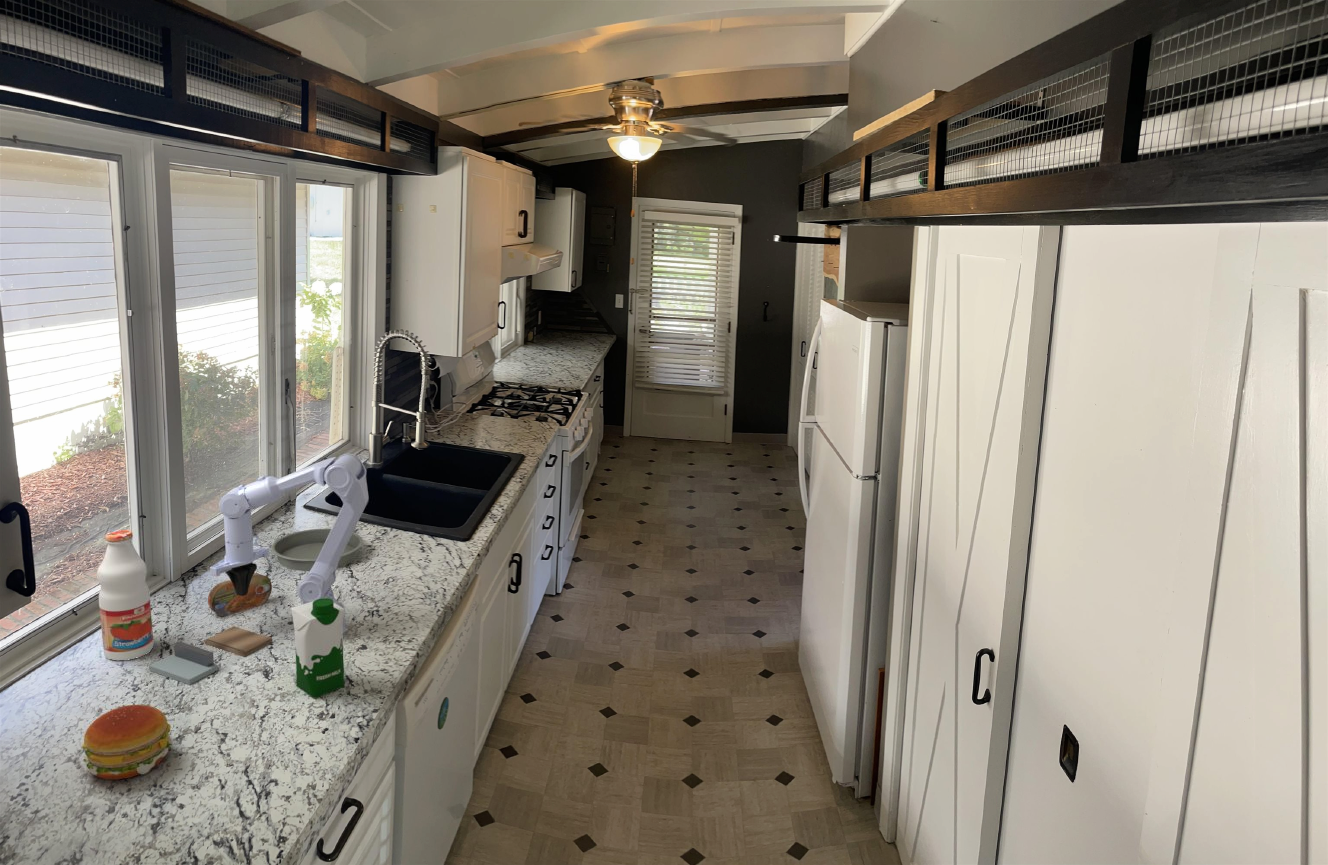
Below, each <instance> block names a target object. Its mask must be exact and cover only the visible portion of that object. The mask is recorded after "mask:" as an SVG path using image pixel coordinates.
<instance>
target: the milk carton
mask: <svg viewBox="0 0 1328 865" xmlns="http://www.w3.org/2000/svg"><path fill="white" fill-rule="evenodd" d="M290 609H291V615H292V620H293V628H294V632H295V635H294V641H295V642H294V648H295V667H296V668H295V670H296V673H295V674H296V675H295V676H296V677H295V678H296V679H295V680H296V683H295V684H296V687H298V689H300V690H301V691H303V692H304V693H305V694H307V695H308V696H310V697H311V698H312V699H316V698H319V697H321V696H325V695H326V694H330V693H331V692H333V691H334V692H335V691H336V690H339V689H341V688H344V687H345V670H344V669H345V668H344V667H345V666H344V640H343V638H344V637H343V636H344V633H343V617H344V609H343V608H342V607H340V606H339V605H337V604H335V603H334V602H333V600H332V599H329V598H322V599H317V600H315V601H313V602H309V603H306V604H303V605H301V604H300V605H296V606H293V607H291V608H290Z"/></svg>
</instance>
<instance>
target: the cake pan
mask: <svg viewBox="0 0 1328 865" xmlns="http://www.w3.org/2000/svg"><path fill="white" fill-rule="evenodd" d="M331 529H332V528H313V529H305V530H301V531H295V532H293V533H289V534H286V535H283V536H281V537H279V538H278V539H277V540H275V541H274V542H273V543H272V544H271V552H272V553H273V554H274V555H275V556H277V560H278V561H277V562H279V564H280V566H282V567H284V568H286V569H289V570H293V571H300V572H309V571H310V569H311V568H312V567H313V565H314V564H315V562H316V560H317V558H318V556H319V554H320V552H321V550H322V548H323V546H324V544H325V541H326V539H327V537H328V535H329V533H330V531H331ZM363 544H364V539H363V537H362V536H360V534H358V533H355V532H353V533H352V535H351V537H350V539H349V541H348V543H347V546H346V548H345V550H344V552H343V554H342V556H341V558H340V560H339V562H338V566H337V568H341V567H343V566H346V565H349V564H351V563H352V562H353V561H355V559H356V558H357V557H358V553H359V550H360V548H361V547H362V546H363ZM337 568H336V569H337Z"/></svg>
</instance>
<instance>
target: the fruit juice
mask: <svg viewBox="0 0 1328 865" xmlns="http://www.w3.org/2000/svg"><path fill="white" fill-rule="evenodd" d="M133 538H134V537H133V532H132V530H129V529H116V530H112V531H111V530H110V531H109V532H107V533H106V534H105V538H104V539H105V543H106V544H107V546H106V550H105V552H104V553H105V554H104V557H103V559H102V561H101V563H100V564H99V566H98V568H97V571H96V578H97V580H98V584H99V585H100V590H99V592H98V606H99V607H98V608H99V617H100V618H99V619H100V627H101V636H102V637H101V638H102V646H103V648H102V650H103V654H104V656H106V657H107V658H109V659H113V660H128V659H133V658H136V657H140V656H142V655H145V654H146V653H148V652H149V651H151V649H152V648H154V632H153V621H152V620H153V619H152V608H151V607H152V606H151V595H150V589H149V586H148V584H147V582H146V577H147V574H148V573H147V572H148V569H147V564H146V562H145V561H144V560H143V558H142V557H141V556H140V555H139V553H138V552H137V550H136V548H135V546H134V544H133V542H132V540H133ZM152 650H153V649H152ZM148 654H149V653H148ZM145 656H146V655H145ZM106 657H105V658H106ZM107 658H106V659H107ZM140 658H141V657H140ZM109 659H108V660H109Z"/></svg>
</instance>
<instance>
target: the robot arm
mask: <svg viewBox="0 0 1328 865" xmlns="http://www.w3.org/2000/svg"><path fill="white" fill-rule="evenodd" d="M335 459H336V460H335ZM311 483H316V484H317V485H320V486H322V487H325V485H327V486H328V487H329V489H330V490H332V491H333V492H334V493H335V494H336V495H337V496H338V497H339V498H340V499H341V501H342V506H341V508H340V511H339V512H338V514H337V517H336V519H335V521H334V523H333V526H332V527H331V528H330V529H331V531H330V533H329V535H328V537H327V539H326V541H325V544H324V546H323V548H322V550H321V552H320V554H319V556H318V558H317V560H316V562H315V564H314V565H313V567H312V568H311V569H310V571H308V573H307V574H306V576H305V577H303V580H302V581H300V583H299V584H298V585H297V588H296V594H297V596H298V598H299V599H300V605H303V604H306V603H309V602H313V601H315V600H317V599H322V598H329V599H332V600H333V602H334V603H335V604H337V605H339V606H340V607H342V608H343V609H344V617H343V634H344V633H347V632H348V628H347V627H346V614H345V612H346V609H345V606H344V604H343V603H341V602H340V601H339V600H337V599H336V598H335V595H334V591H333V588H332V586H333V585H334V583H335V582H336V571H337V566H338V562H339V560H340V558H341V556H342V554H343V552H344V550H345V548H346V546H347V543H348V541H349V539H350V537H351V535H352V533H354V531H355V529H356V527H357V525H358V523H359V521H360V518H361V517H362V515H363V513H364V510H365V508H366V506H367V505H368V503H369V498H370V497H369V491H368V483H367V468H366V467H365V465H364V464H363V462H362V460H361V458H359V457H358V456H357V455H355V454H353V453H344V454H341V455H340V456H339V457H337V456H334V457H330V458H327V459H324V460H321V461H318V462H316V463H313V464H310V465H309V466H305V467H304V468H302V469H299V470H296V471H294V472H292V473H290V474H287V475H285V476H283V477H280V478H278V477H275V476H272V475H269V476H267V477H266V475H262V476H261V475H260V476H259V477H258V478H257V480H256V481H253V482H250V483H248V484H246V485H245V484H244V483H243V484H240V485H239V486H237V487H234V488H232V489H231V490H230V491H228V492H227V493H225V494H224V495H223V496H222V497H220V499H219V501H218V509H219V512H220V513H221V514H222V515H223V528H224V543H225V555H224V558H223V559H221V560H219V561H218V562H216V563H215V564H214V565H212V566H210V567H209V573H210V576H213V577H216V578H217V577H220V576H221V574H226V575H227V576H228V578H229V580H231V581H232V583H233V586H234V588H235V591H236V594H237V595H240V596H245V595H247V593H248V589H249V585H250V581H251V579H252V576H253V574H254V573H256V570H257V569H258V564H257V563H254V562H255V561H256V560H258V559H260V558H267V557H269V555H270V554H269V548H267V547H263V546H261V547H259V548H255V549H254V539H253V538H254V537H253V520H252V510H256V509H258V508H260V507H264V506H266V505H269V504H271V503H273V502H274V503H275V502H276V501H279V500H281V499H282V498H283V495H284V493H285V492H288V491H290V490H291V491H292V490H294V489H296V488H299V487H303V486H307V485H309V484H311ZM293 635H294V636H295V631H294V632H293Z"/></svg>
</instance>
